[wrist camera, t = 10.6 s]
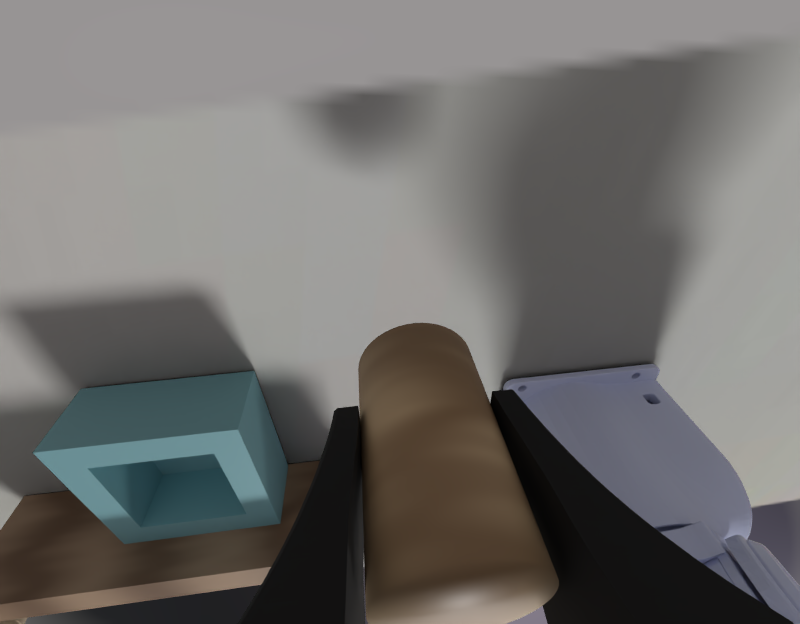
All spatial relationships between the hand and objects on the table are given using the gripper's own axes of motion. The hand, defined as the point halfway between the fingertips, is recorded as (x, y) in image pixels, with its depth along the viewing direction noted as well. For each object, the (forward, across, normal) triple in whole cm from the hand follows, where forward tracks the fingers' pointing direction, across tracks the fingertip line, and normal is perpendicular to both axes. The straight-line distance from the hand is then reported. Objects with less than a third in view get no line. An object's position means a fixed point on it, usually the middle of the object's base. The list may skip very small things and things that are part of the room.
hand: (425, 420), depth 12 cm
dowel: (+2, 0, 0) cm, 2 cm away
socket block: (+8, +12, +9) cm, 17 cm away
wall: (+8, +14, +14) cm, 21 cm away
